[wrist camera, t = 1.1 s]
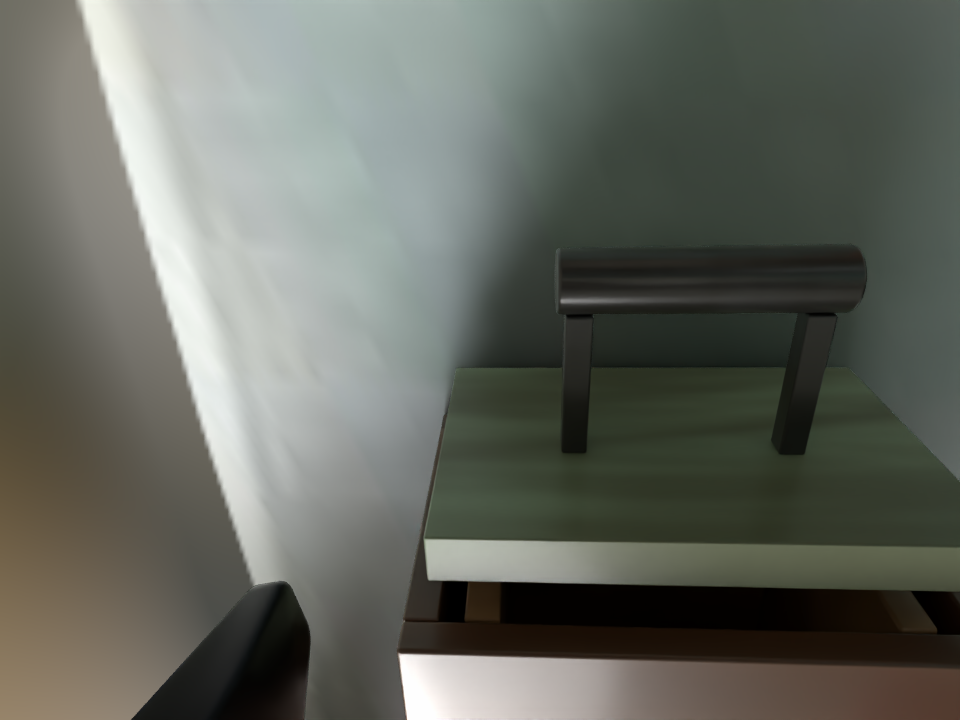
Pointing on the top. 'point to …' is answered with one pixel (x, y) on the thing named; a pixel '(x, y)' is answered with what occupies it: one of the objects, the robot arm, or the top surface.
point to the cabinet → (665, 666)
